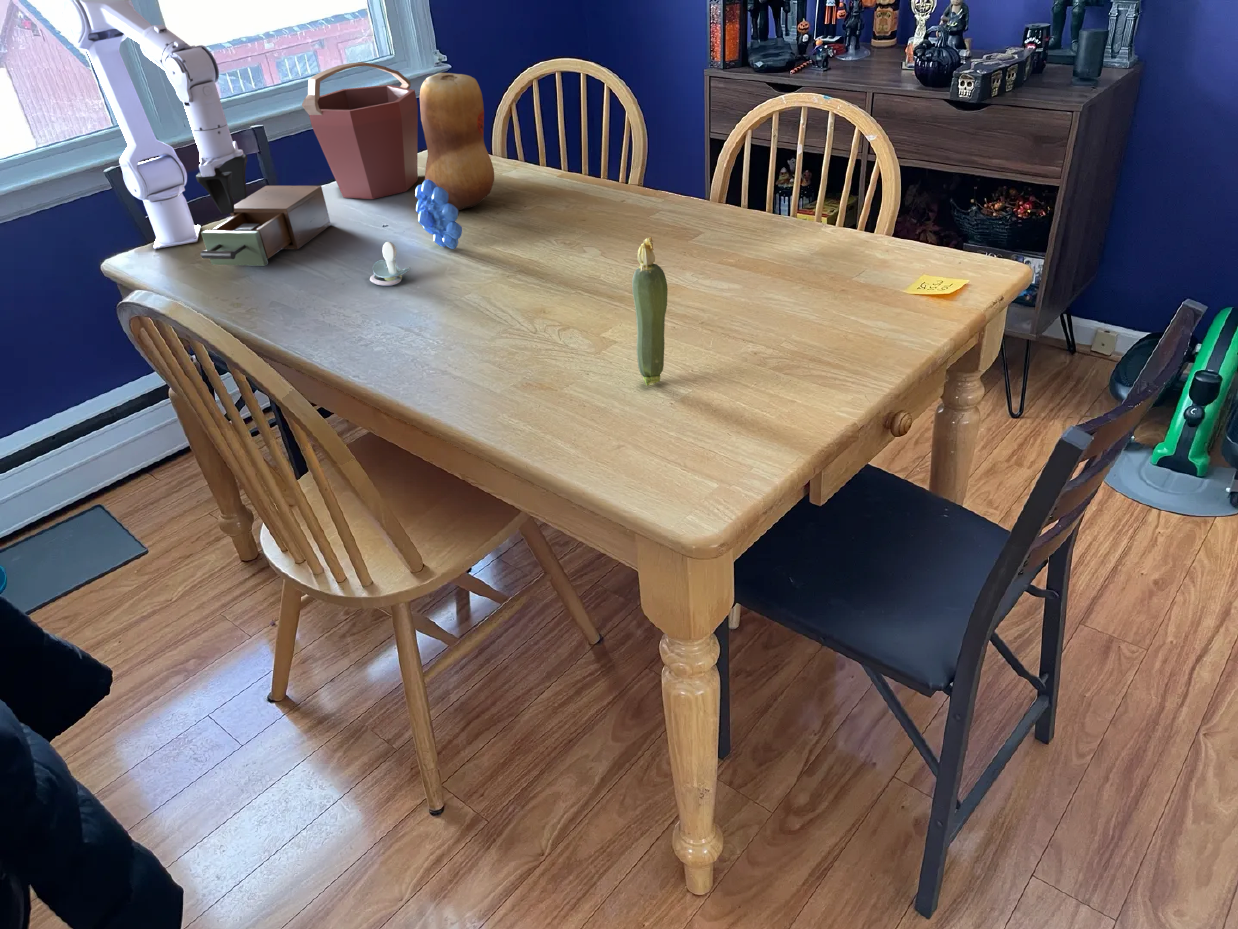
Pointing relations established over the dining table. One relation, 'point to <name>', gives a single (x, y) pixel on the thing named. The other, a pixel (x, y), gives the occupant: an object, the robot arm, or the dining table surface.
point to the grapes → (437, 214)
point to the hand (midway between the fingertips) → (234, 205)
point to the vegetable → (649, 313)
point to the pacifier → (390, 273)
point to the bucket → (367, 134)
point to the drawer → (246, 239)
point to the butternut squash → (456, 138)
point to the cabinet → (291, 210)
